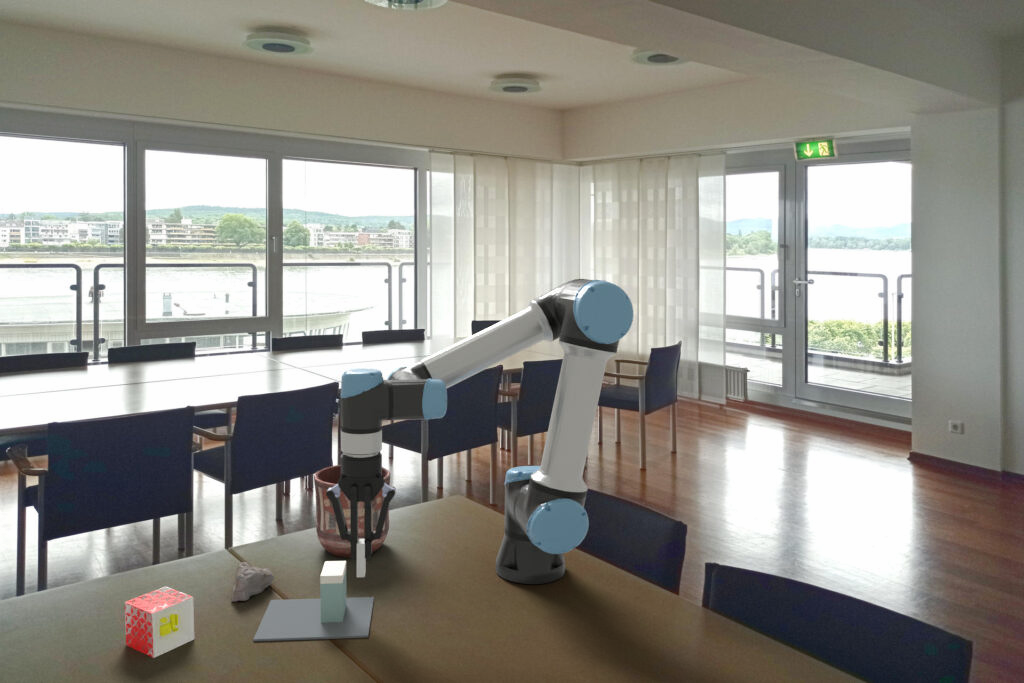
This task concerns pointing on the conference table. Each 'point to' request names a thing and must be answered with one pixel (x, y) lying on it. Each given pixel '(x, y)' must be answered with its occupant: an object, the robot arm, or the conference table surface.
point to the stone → (250, 581)
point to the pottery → (327, 519)
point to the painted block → (333, 591)
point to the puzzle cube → (159, 621)
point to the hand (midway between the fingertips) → (361, 574)
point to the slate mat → (313, 620)
